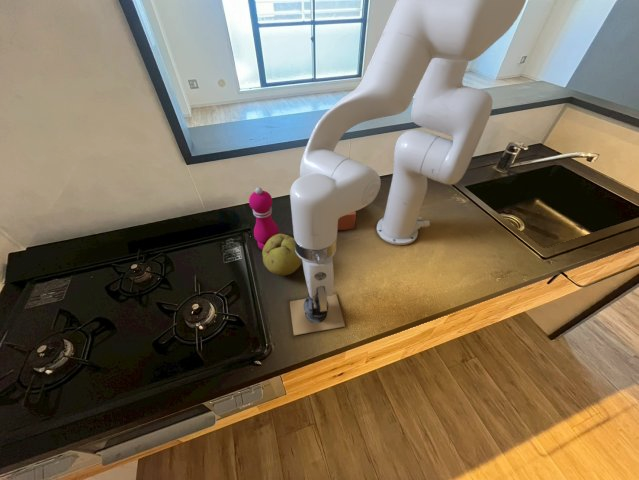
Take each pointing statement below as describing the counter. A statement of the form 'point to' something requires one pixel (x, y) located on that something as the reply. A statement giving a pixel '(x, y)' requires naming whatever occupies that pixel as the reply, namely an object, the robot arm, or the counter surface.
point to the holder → (347, 221)
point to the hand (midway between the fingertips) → (316, 296)
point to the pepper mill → (262, 216)
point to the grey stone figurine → (308, 311)
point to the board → (305, 326)
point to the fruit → (281, 255)
